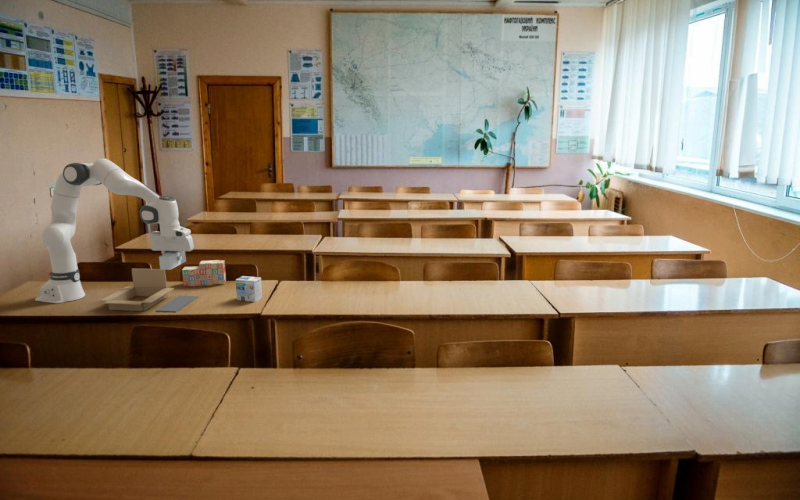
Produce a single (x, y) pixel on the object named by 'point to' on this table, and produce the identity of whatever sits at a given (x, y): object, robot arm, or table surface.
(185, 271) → the stack of blocks
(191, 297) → the mat
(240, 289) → the light bulb box
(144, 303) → the carton
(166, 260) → the box
